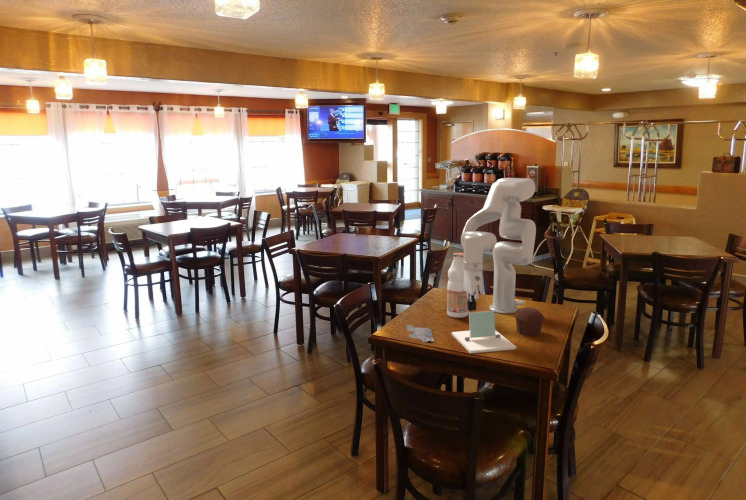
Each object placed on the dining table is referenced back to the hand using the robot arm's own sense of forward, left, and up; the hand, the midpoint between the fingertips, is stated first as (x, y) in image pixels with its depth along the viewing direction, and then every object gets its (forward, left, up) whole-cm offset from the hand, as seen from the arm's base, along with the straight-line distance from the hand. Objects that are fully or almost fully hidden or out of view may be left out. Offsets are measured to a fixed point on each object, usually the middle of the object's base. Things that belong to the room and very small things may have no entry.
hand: (471, 309), depth 211 cm
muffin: (-22, +6, -9) cm, 25 cm away
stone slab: (+21, -2, -10) cm, 24 cm away
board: (0, +11, -9) cm, 15 cm away
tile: (0, +10, -3) cm, 10 cm away
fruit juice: (-2, -22, -9) cm, 24 cm away
